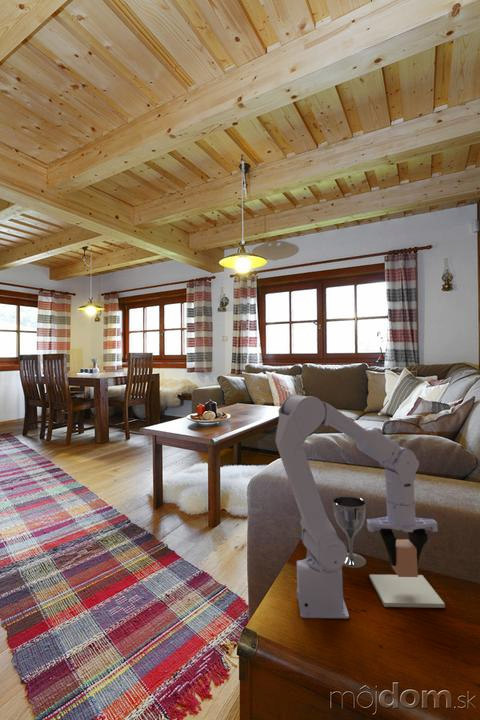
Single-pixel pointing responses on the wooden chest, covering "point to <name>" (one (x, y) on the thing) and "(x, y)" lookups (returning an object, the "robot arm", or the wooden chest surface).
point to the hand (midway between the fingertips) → (403, 563)
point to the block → (405, 559)
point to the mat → (406, 591)
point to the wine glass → (350, 524)
